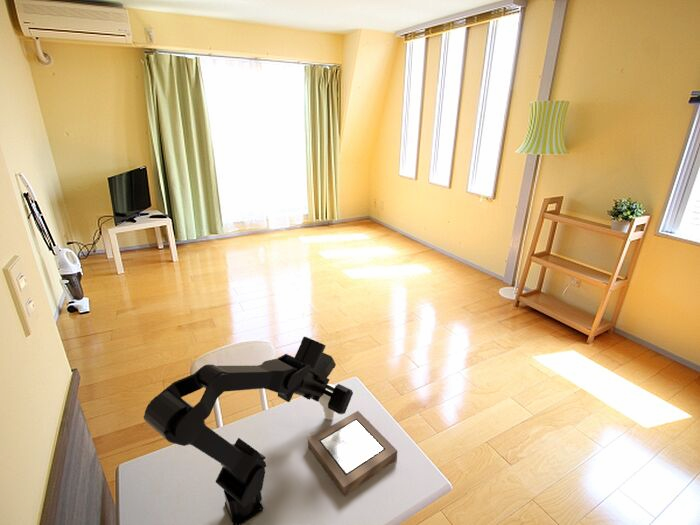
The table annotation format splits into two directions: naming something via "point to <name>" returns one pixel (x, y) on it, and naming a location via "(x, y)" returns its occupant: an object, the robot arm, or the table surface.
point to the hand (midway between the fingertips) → (332, 392)
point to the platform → (351, 447)
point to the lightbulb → (324, 402)
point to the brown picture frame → (361, 473)
